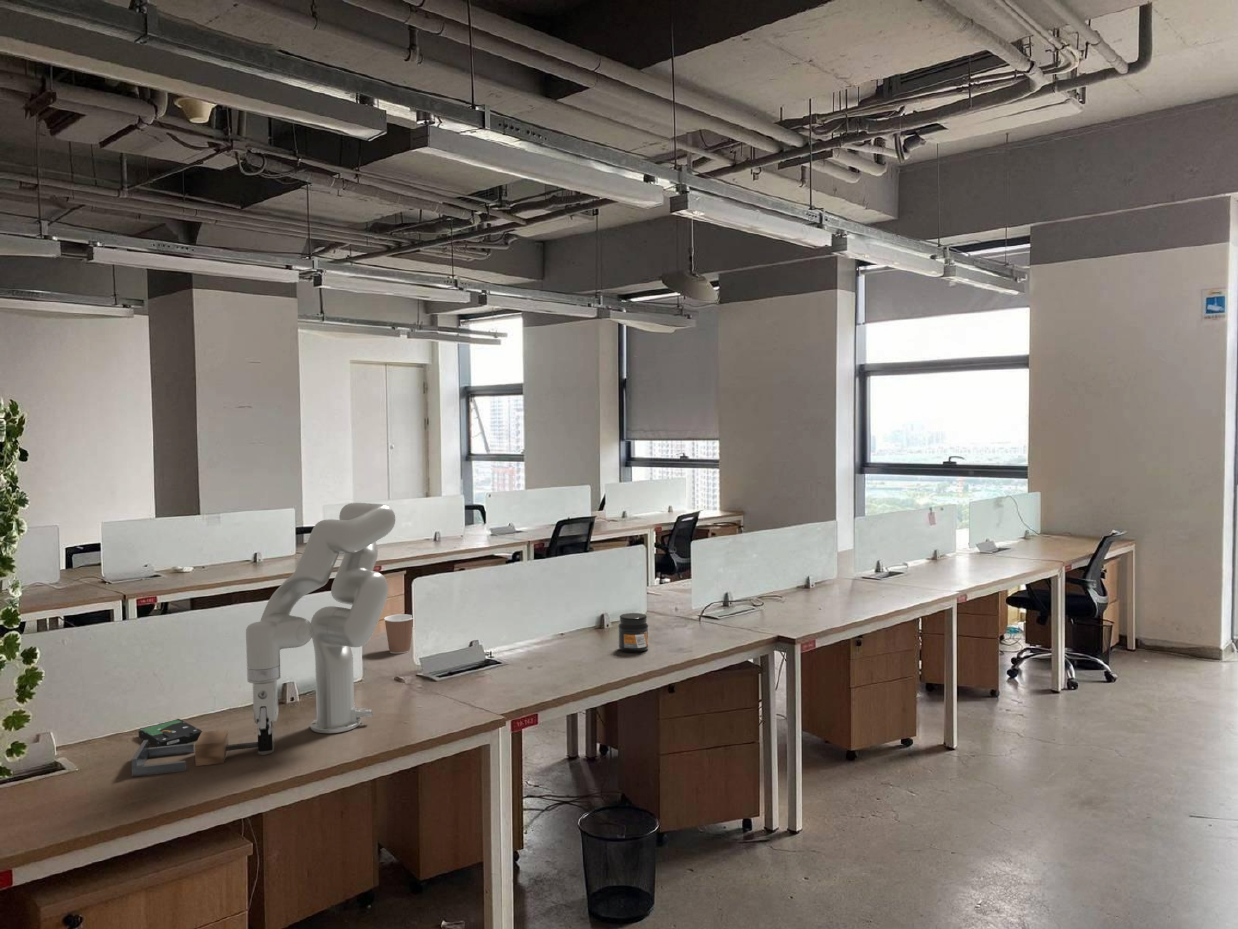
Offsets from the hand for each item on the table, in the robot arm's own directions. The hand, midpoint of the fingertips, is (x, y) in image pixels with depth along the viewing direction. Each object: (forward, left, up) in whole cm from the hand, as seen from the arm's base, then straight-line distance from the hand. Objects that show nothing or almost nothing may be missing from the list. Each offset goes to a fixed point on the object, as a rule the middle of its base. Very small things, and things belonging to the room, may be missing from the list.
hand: (266, 746), depth 214 cm
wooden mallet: (+7, 0, -1) cm, 7 cm away
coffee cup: (-37, -88, -1) cm, 95 cm away
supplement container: (-115, -62, -1) cm, 131 cm away
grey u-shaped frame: (+22, 0, -1) cm, 22 cm away
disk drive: (+24, -19, -2) cm, 31 cm away
